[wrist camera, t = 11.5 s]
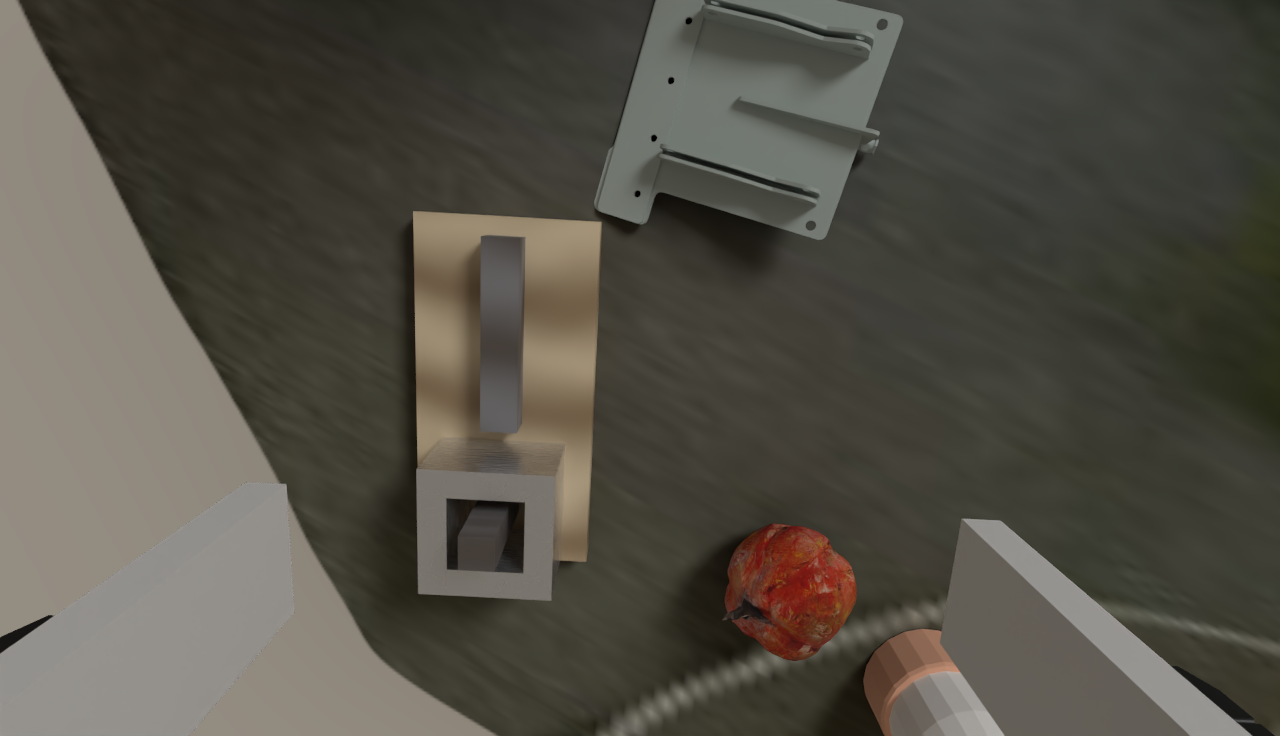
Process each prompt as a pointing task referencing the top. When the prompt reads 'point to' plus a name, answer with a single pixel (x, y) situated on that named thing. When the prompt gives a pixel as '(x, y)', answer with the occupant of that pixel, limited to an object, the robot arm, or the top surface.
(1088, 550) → the top surface
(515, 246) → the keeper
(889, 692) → the pepper shaker
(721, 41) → the metal bracket
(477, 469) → the grey square socket block
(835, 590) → the pomegranate
